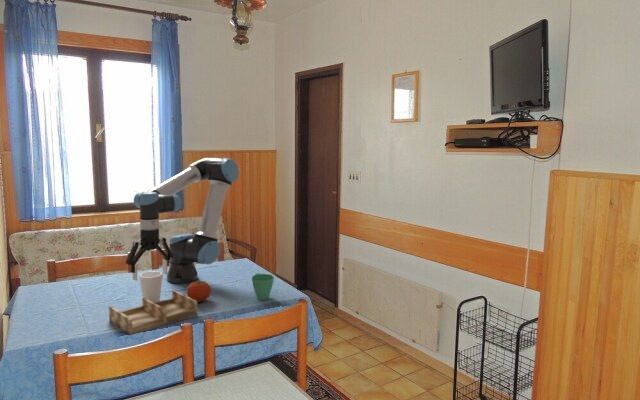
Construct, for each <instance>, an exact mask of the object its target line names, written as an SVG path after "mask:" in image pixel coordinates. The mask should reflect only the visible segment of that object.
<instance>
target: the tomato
mask: <svg viewBox="0 0 640 400" xmlns="http://www.w3.org/2000/svg"><path fill="white" fill-rule="evenodd" d="M211 289H212V288H211V287H210V284H209V283H208V282H207V281H205V280H200V279H197V280H195V281H192V282H190V284H189V285H188V286H187V289H186V296H188V297H190V298H192V299H194V300H196V301H197V303H200V302H204V301H206V300H207V299H208V298H210V295H211V293H212V292H211V291H212V290H211Z"/></svg>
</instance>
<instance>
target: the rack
mask: <svg viewBox="0 0 640 400" xmlns="http://www.w3.org/2000/svg"><path fill="white" fill-rule="evenodd" d="M171 292H172V295H171V296H172V298H171V297H170V298H167V299H164V300H160V301H159V302H155V303H154V302H152V301H150V300H148V299H146V298H143V297H142V299H141V300H142V301H141V302H142V305H140V306H136V307H134V308H129V309H125V310H119V309H117V308H116V307H114V306H113V305H109V306H108V314H109V315H108V316H109V319H108V320H109V322H110V323H112V324H113V325H115V326H116V327H117V328H119V329H121V331H123V332H124V333H126V334H128V336H133V335H135V334H140V333H143V332H146V331H149V330H153V329H155V328H159V327H162V326H166V325H169V324H172V323H174V322H175V323H176V322H178V321H183V320H185V319H189V318H192V317H196V316H198V302H197V301H196V300H194V299H192V298H190V297H188V295H187V294H186V295H185V294H183V293H182V292H179V291H177V290H175V289H174V290H172V291H171Z"/></svg>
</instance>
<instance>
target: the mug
mask: <svg viewBox="0 0 640 400" xmlns="http://www.w3.org/2000/svg"><path fill="white" fill-rule="evenodd" d="M274 280H275V277H274V275H272V274H269V273H260V272H257V273H255V275H252V277H251V281H252V285H253V290H254V294H255V296H256V298H257V299H256V300H259V301H267V300H268V299H269V297H270V294H271V292H272V288H273V284H274Z"/></svg>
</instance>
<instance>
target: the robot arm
mask: <svg viewBox="0 0 640 400" xmlns="http://www.w3.org/2000/svg"><path fill="white" fill-rule="evenodd" d="M239 174H240V169H239V166H238V164H237V162H236V161H235V160H234V159H232V158H228V157H213V156H212V157H211V156H209V157H203V158H202V159H199V160H197V161H195V162H192V163H190V164H189V165H187V166H186V168H185V169H184V170H183V171H181V172H179V173H178V174H176V175H174V176H172V177H170V178H169V179H167V180H165V181H163V182H161V183H160V184H158V185H156V186H155V187H153V188H151V189H149V190H148V191H140V192H136V194H135V195H134V197H133V204H134V206H135V207H136V208H139V220H140V221H139V226H140V227H139V228H140V231H139V232H140V235H139V237H140V240H139V241H137V240H136V241H135V240H134V241H133V242H132V247H131V249H130V251H129V253H128V256H127V258H126V259H125V264H126V265H128V266H130V267H129V268H130V270H129V271H130V272H131V274H132V280H133V281H134V282H135V281H136V282H137V281H138V265H137V263H138V261H139V260H140V259H141V257H142V256H143V255H144V253H146V251H147V252H149V251H155V250H156V252H158V253H159V254H160V255H161V257H163V258H162V273H163V275H166V280H167V282H169V283H171V284H188V283H193V282H195V281H198V280H199V279H198V277H199V275H198V271H197V268H196V265H195V263H197V264H201V265H210V264H211V265H212V264H213V263H214V262H215V261H217V259H218V258H219V256H220V255H221V254H220V253H221V246H220V243H219V242H218V240H219V237H217V231H218V227H219V223H220V220H221V215H222V212H223V207H224V202H225V198H226V195H227V192H228V191H227V190H228V189H229V188H231V187H232V183H234V182H236V181H237V179H238V178H239V176H240V175H239ZM204 180H205V181H206V180H207V182H208V183H209V189H208V192H207V196H206V201H205V204H204V208H203V212H202V216H201V220H200V225H199V228H198V231H196V232H195V233H194V234H193V233H190V232H189V233H181V234H175V235H172V236H170V238H169V244H168V243H167V238H165V237H160V229H159V227H160V214H165V213H170V212H171V213H172V212H176V211H178V210H180V209H181V207H182V200H181V198H180V196H179V195H178V194H177V193H179V192H180V191H182V190H184V189H186V188H187V187H189V186H191V185H192V184H193V183H195V184H196V183H197V184H198V183H199V182H200V181H204ZM160 243H161V245H162V246H163V248H161V246H159V244H160ZM163 249H164V250H163ZM168 267H169V268H168Z"/></svg>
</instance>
